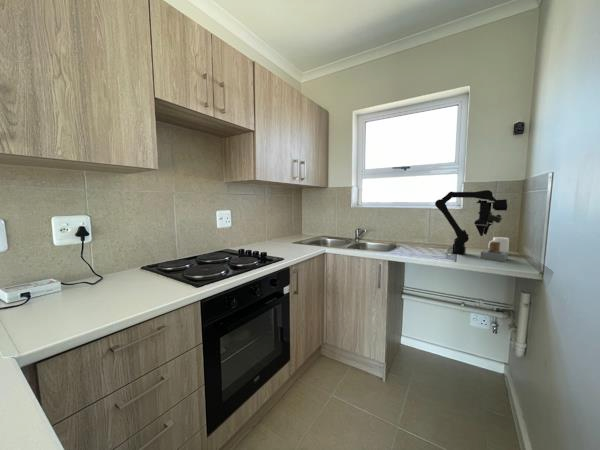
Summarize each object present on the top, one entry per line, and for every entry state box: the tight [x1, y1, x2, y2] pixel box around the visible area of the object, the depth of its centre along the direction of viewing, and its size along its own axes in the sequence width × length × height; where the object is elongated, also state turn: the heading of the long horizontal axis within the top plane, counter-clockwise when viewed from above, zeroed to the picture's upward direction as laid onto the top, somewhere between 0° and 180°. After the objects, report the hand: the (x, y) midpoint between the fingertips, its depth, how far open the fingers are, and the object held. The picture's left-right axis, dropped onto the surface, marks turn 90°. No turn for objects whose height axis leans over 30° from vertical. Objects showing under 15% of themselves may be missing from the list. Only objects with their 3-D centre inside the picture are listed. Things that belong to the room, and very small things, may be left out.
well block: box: [480, 249, 509, 263], centre depth 147 cm, size 11×11×4 cm
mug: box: [487, 236, 510, 253], centre depth 161 cm, size 12×8×10 cm
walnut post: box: [489, 241, 500, 253], centre depth 147 cm, size 4×4×10 cm
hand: (483, 235), depth 154 cm, fingers open, 9 cm apart
